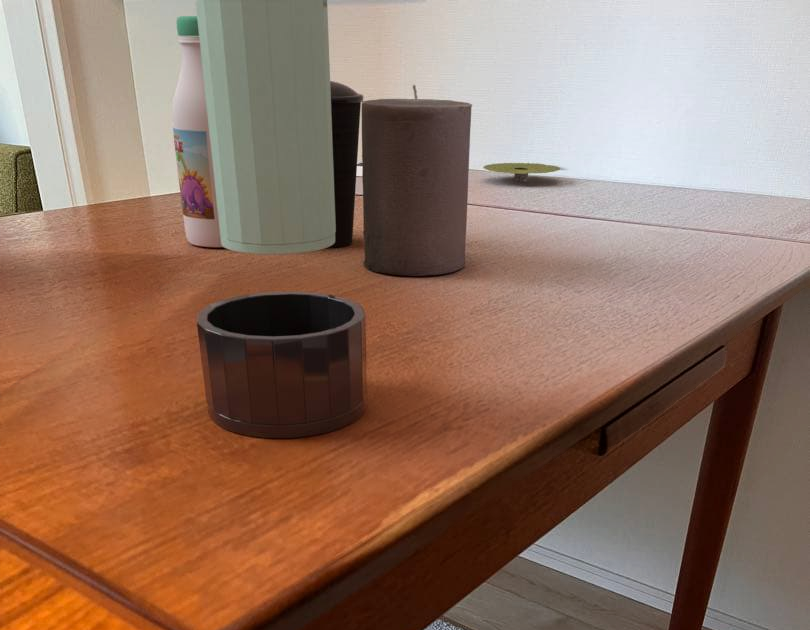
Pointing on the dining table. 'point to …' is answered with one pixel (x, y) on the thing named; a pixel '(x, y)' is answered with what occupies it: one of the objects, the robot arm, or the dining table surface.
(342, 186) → the drinking cup
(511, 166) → the green disc on stem
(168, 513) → the dining table surface
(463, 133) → the pillar candle
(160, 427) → the dining table surface
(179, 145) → the milk bottle
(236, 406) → the holder
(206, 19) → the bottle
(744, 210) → the dining table surface
